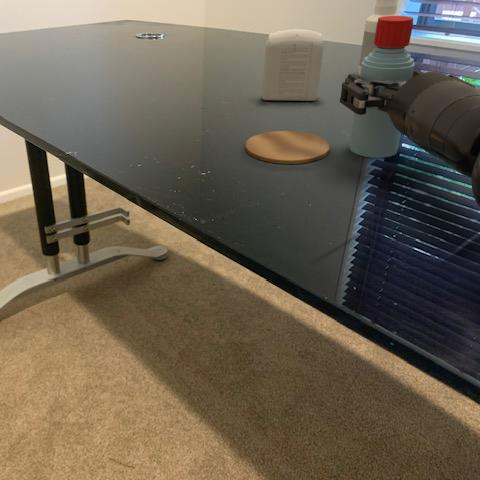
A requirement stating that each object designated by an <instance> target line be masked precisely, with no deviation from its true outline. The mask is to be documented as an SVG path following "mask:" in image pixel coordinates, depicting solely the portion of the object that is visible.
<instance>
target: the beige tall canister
mask: <svg viewBox="0 0 480 480" xmlns="http://www.w3.org/2000/svg"><path fill="white" fill-rule="evenodd" d="M398 3H399V0H376V1H375V4H374V12H373V14H371V15H370V16H368V17H367V18H366V19H365V24H364V28H363V29H364V30H363V36H362V42H361V43H362V45H361V51H360V58H359V64H358V65H359V66H358V70H357V71H358V72H357V76H358V77H360V72H361V65H362V62H363V61H364V58H365V57H367V56H368V55H369V54H370V53H372V51H373V50H374V49H377V46H375V45H374V38H375V32H376V26H377V22H378V18H380V17H385V16H399V15H398V13H397V12H398V11H397V10H398Z"/></svg>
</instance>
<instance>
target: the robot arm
mask: <svg viewBox="0 0 480 480" xmlns="http://www.w3.org/2000/svg"><path fill="white" fill-rule="evenodd" d="M380 86H383V87H385V88H384V89H383V90H382V91H381V92H380V94H379V89H380ZM364 87H367V88H368V89H369V90H363V89H364ZM378 94H379V95H378ZM339 103H340V104H341V105H342V106H344V107H346V108H347V109H348V110H350V111H352V112H353V114H354V113H356V114H359V115H363V114H366V110H367V108H371V109H376V110H381V111H384V112H387V113H388V114H389V116H390V118H391V121H392V123H393V125H394V127H395V128H396V129H397V130H398V131H399V132H400V133H401V135H403V136H404V137H405V138H407V139H408V140H410V141H411V142H412V143H413V144H415V145H416V146H418V147H419V148H420V149H421V150H423V151H424V152H426V153H427V154H429V155H431V156H433V157H436V158H437V159H440V160H441V161H442V162H443V163H445V164H446V165H447V166H448V167H450V168H451V169H453V170H454V171H456V173H459V174H461V175H462V176H464V177H466V178H470V180H471V181H470V184H471V192H472V193H471V194H472V196H473V198H474V201H475V203H476V205H478V208H480V90H479V89H478V88H476V86H475V85H474V84H471V83H469V82H467V81H466V80H463V79H461V78H460V77H458V76H456V75H454V74H445V73H443V72H439V71H427V72H423V71H421V70H419V69H414V71H413V76H412V78H411V79H409V80H408V81H403V80H398V81H390V80H384V79H376V80H373V81H365V80H363V79H361V78H360V76H359V75H358V74H356V73H348V75H347V77H345V79H344V81H343V82H342V83H341V92H340V98H339Z"/></svg>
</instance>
